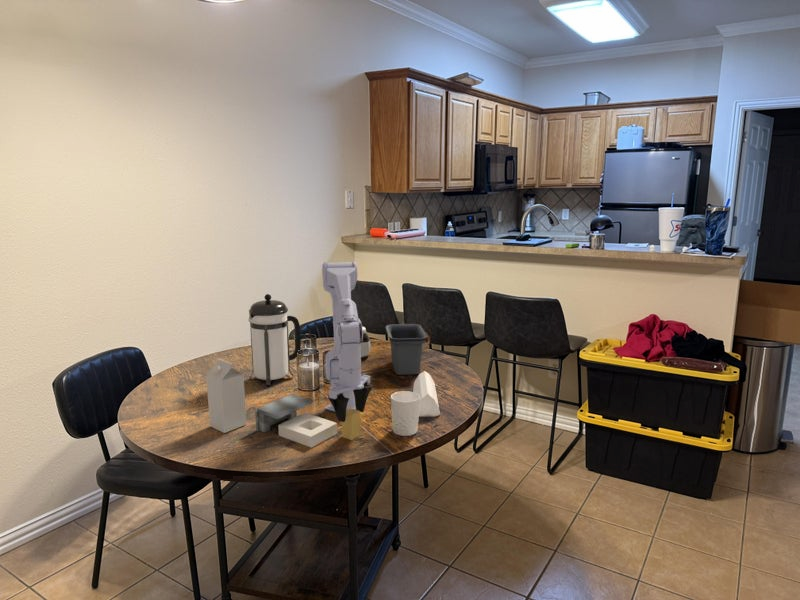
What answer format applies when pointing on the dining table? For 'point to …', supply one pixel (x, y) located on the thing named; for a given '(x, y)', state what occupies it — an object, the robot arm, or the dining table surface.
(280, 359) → the coffee press
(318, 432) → the socket
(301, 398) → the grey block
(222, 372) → the milk carton
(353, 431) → the peg
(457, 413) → the dining table surface
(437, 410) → the white pentagonal prism
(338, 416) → the robot arm
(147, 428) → the dining table surface
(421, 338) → the storage bin
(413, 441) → the dining table surface
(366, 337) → the spread jar
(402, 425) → the white cup
